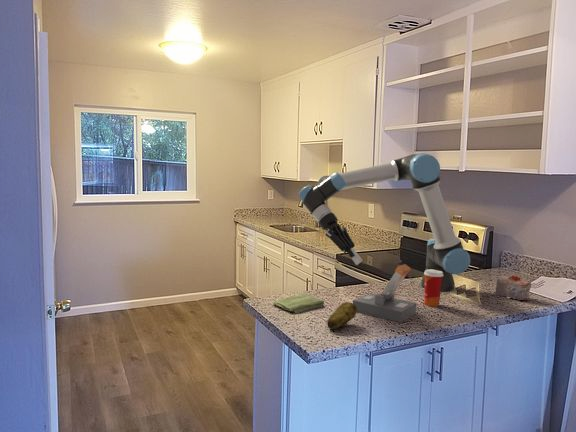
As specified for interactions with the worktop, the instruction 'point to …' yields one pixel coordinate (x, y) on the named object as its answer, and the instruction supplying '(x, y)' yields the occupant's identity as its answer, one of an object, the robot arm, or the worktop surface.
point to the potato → (342, 315)
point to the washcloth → (299, 303)
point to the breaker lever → (395, 281)
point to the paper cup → (432, 287)
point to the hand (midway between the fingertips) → (359, 262)
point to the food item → (513, 287)
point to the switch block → (385, 307)
